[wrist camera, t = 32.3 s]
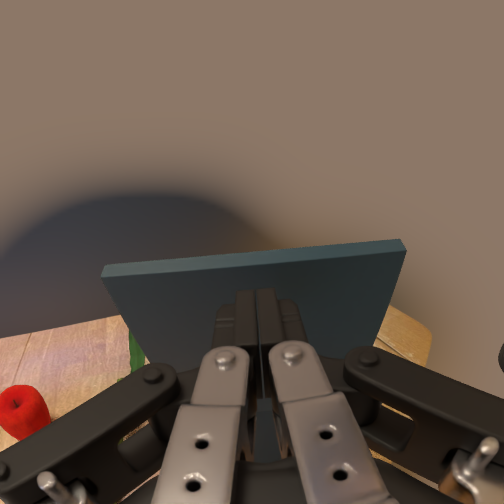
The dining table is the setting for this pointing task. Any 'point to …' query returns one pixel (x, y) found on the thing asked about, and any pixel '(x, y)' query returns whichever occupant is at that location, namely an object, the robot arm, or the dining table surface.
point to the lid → (256, 277)
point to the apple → (22, 411)
